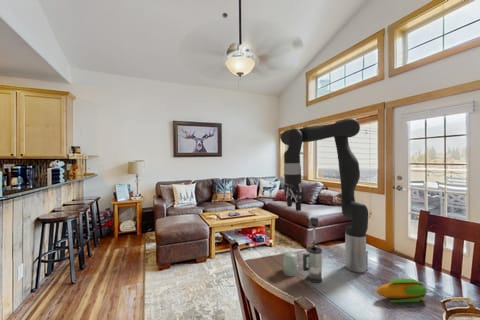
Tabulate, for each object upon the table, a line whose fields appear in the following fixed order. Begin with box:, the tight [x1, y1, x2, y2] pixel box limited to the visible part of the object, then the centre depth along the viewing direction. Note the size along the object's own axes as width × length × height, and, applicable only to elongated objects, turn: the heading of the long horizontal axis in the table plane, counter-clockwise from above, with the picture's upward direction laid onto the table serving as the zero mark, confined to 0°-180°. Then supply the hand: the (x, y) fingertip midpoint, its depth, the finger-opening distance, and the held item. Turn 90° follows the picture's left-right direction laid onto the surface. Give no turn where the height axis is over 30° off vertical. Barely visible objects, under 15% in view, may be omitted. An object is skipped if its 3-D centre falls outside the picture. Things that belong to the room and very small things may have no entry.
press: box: [302, 245, 323, 285], centre depth 101 cm, size 9×7×14 cm
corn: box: [376, 278, 428, 304], centre depth 87 cm, size 7×8×20 cm
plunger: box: [309, 217, 319, 249], centre depth 101 cm, size 4×4×14 cm
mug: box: [283, 251, 298, 277], centre depth 108 cm, size 6×8×9 cm
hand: (293, 208), depth 101 cm, fingers open, 8 cm apart
